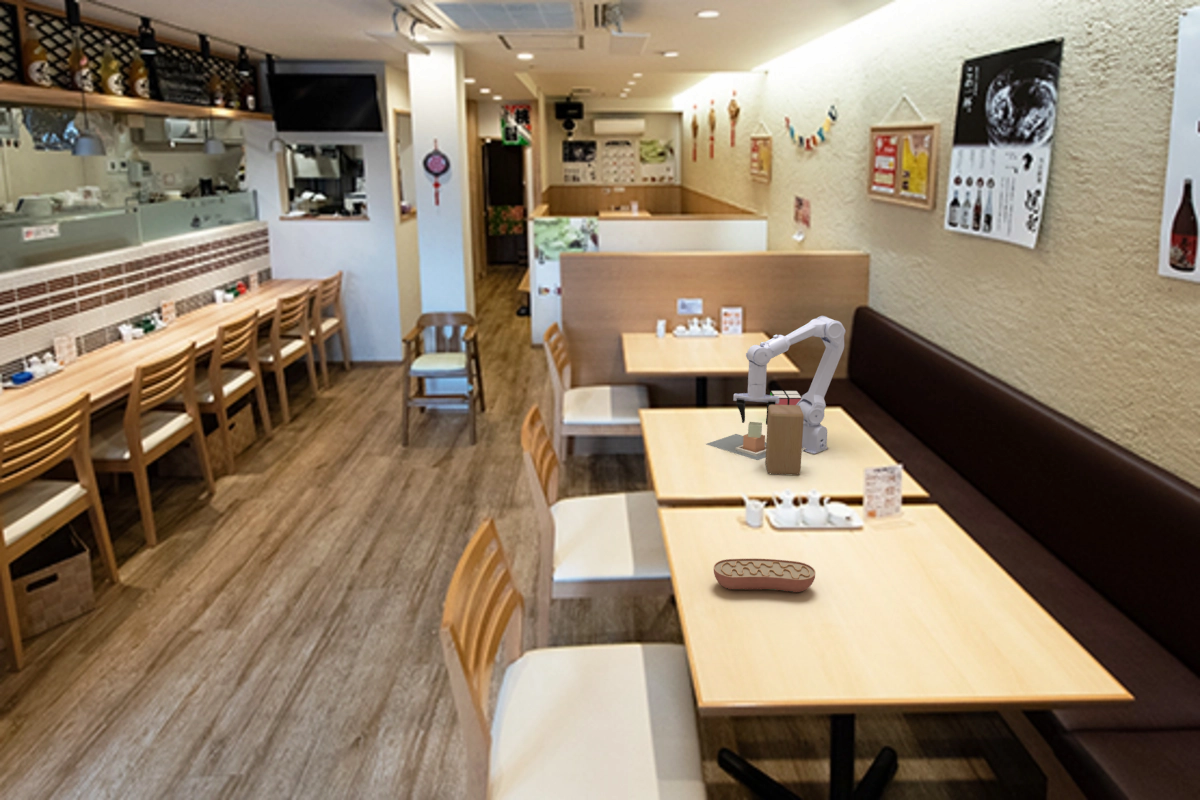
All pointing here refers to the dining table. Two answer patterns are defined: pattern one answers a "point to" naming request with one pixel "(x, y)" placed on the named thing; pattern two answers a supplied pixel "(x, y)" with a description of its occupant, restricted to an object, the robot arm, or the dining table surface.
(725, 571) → the brown tread slab
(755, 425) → the block
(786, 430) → the block
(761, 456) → the board
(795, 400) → the puzzle cube
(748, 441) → the block
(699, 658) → the dining table surface
